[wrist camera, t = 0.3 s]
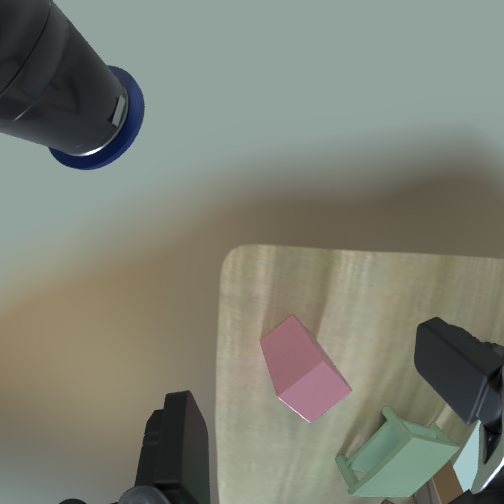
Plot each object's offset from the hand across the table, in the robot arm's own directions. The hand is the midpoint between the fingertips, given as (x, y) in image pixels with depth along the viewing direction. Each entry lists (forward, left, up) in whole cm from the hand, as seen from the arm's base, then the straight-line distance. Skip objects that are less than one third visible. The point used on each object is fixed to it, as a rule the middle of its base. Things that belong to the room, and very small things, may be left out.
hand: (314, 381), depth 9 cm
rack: (+35, -13, -20) cm, 43 cm away
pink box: (+8, -5, -20) cm, 22 cm away
